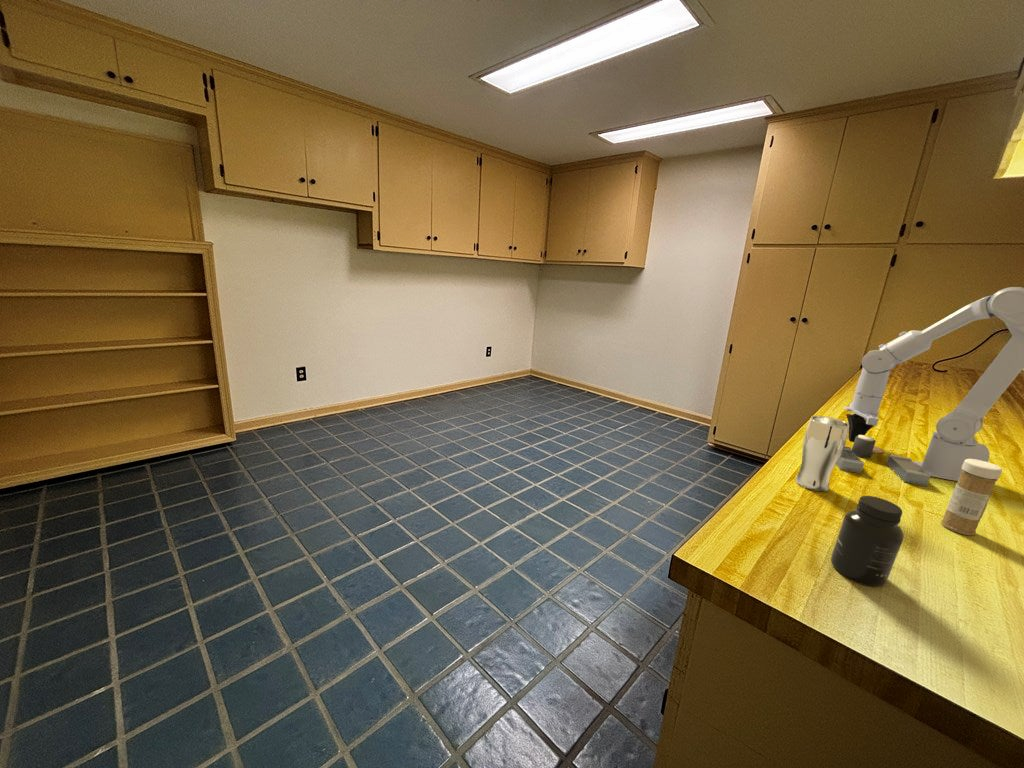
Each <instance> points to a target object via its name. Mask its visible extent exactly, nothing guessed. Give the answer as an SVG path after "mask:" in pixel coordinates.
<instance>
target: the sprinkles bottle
mask: <svg viewBox="0 0 1024 768" xmlns="http://www.w3.org/2000/svg"><path fill="white" fill-rule="evenodd" d="M1002 473H1003V468H1001V467H1000V466H999V465H997V464H994V463H991V462H989V461H988V462H985V461H981V460H976V459H966V460H965V461H964V463H963V465H962V472H961V474H960V477H959V480H958V481H956V482H957V483H955V486H954V489H953V492H952V494H951V496H950V499H949V501H948V504H947V507H946V510H945V513H944V516H943V517H942V520H941V521H940V523H941V525H942V526H943V527H944V528H946V529H947V530H950V531H952V532H955V533H957V534H960V535H964V536H974V535H976V534H977V528H978V526H979V523H980V521H981V519H982V517H983V516H984V513H985V511H986V509H987V506H988V502H989V500H990V498H991V495H992V492H993V489H994V487H995V486H996V483H997V481H998V480H999V479H1000V477H1001V476H1002V475H1001V474H1002Z"/></svg>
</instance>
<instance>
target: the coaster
mask: <svg viewBox="0 0 1024 768" xmlns="http://www.w3.org/2000/svg"><path fill="white" fill-rule="evenodd" d="M882 453H883V449H882V448H880V447H879V446H876V445H874V448H873V451H872V454H882Z"/></svg>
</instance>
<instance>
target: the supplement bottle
mask: <svg viewBox="0 0 1024 768" xmlns="http://www.w3.org/2000/svg"><path fill="white" fill-rule="evenodd" d="M902 515H903V510H902V508H901V507H900V506H898V505H897V504H896V503H893V502H892V501H889V500H887V499H884V498H881V497H878V496H873V495H863V496H860V498H859V499H858V503H857V504H856V507H855V509H854V510H850V511H848V512H846V514H845V515H844V517H843V520H842V522H841V526H840V529H839V532H838V535H837V538H836V542H835V544H834V547H833V550H832V554H831V556H830V557H831V559H830V561H831V564H832V566H833V568H834V569H835V570H837V572H839V573H840V574H841V575H843V576H844V577H845V578H847V579H849V580H851V581H854V582H856V583H858V584H861V585H864V586H868V587H881V586H884V585H885V584H886V583H887V581H888V579H889V577H890V574H891V573H892V570H893V567H894V564H895V562H896V559H897V557H898V554H899V551H900V548H901V546H902V543H903V541H904V535H905V534H904V531H903V530H902V528H901V526H899V525H900V523H901V518H902Z"/></svg>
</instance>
